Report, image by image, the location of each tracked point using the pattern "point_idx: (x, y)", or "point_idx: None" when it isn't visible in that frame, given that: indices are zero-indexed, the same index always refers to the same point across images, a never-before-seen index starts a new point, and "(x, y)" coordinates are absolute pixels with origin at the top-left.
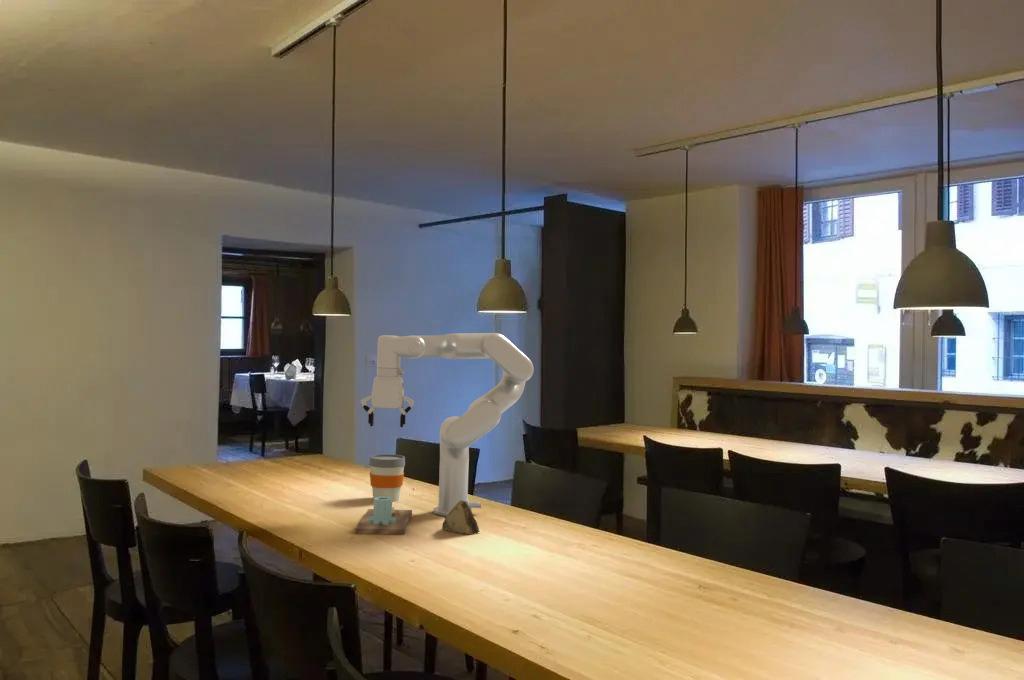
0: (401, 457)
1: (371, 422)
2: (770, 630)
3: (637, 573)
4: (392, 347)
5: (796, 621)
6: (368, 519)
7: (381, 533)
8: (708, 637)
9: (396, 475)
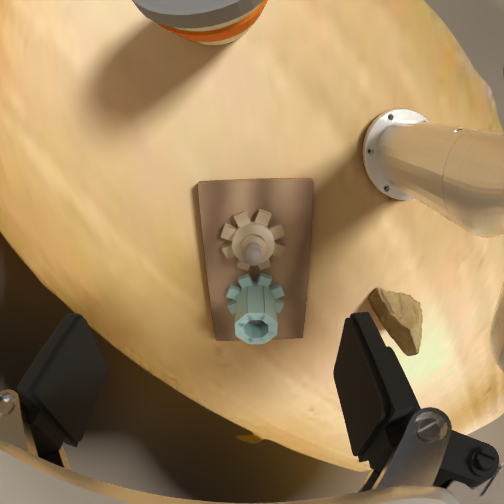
0: None
1: (96, 392)
2: (466, 423)
3: (476, 382)
4: None
5: (483, 411)
6: (227, 305)
7: None
8: None
9: (249, 17)
